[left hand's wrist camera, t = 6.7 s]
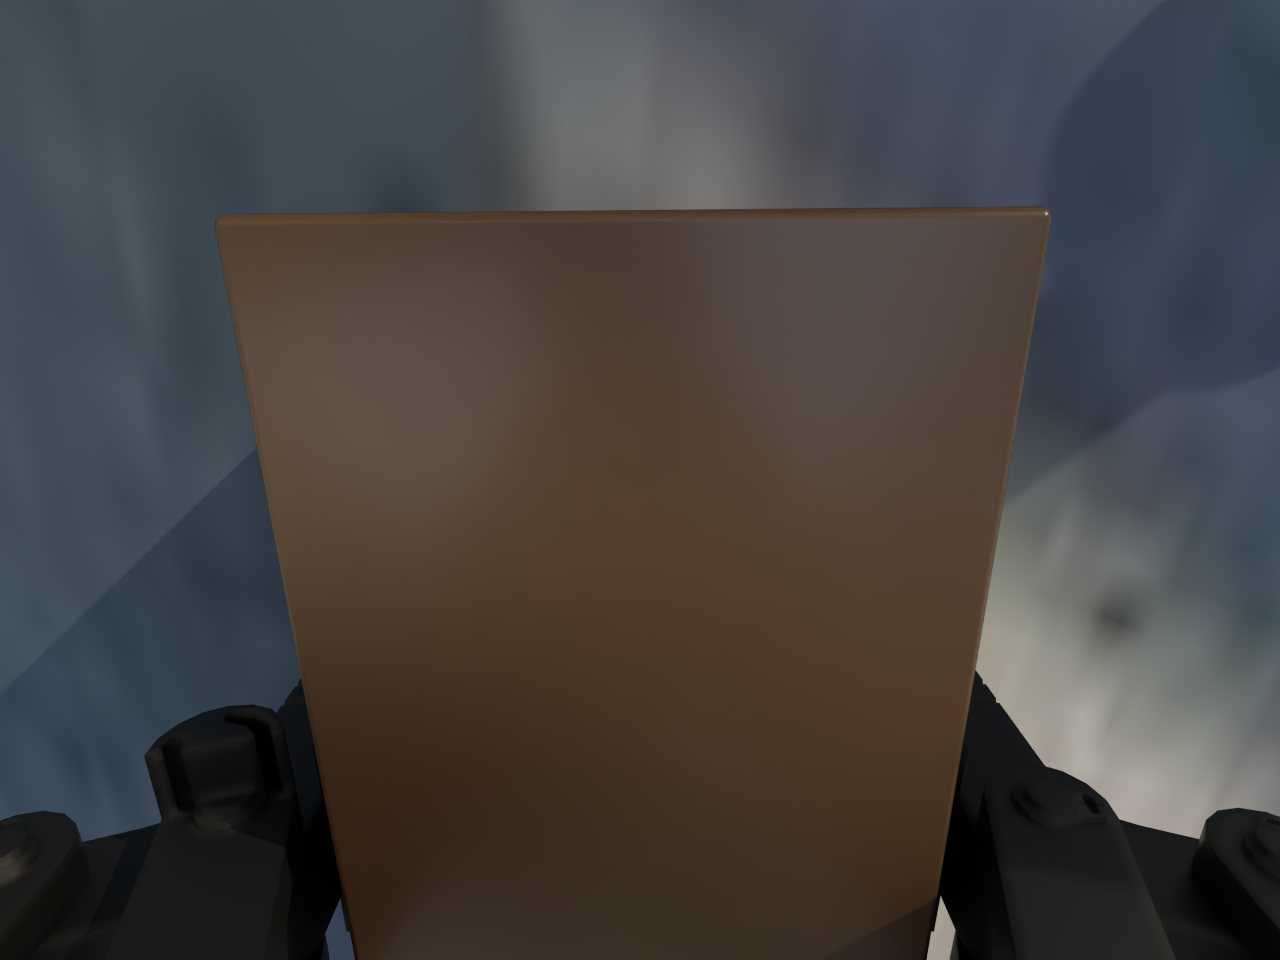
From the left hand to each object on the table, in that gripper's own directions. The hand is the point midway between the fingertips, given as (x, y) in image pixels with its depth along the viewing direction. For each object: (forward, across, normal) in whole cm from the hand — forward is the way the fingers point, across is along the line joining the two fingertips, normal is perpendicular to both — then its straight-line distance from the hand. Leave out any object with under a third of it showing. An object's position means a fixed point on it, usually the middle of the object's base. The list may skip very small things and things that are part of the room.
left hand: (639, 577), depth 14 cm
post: (0, 0, -23) cm, 23 cm away
